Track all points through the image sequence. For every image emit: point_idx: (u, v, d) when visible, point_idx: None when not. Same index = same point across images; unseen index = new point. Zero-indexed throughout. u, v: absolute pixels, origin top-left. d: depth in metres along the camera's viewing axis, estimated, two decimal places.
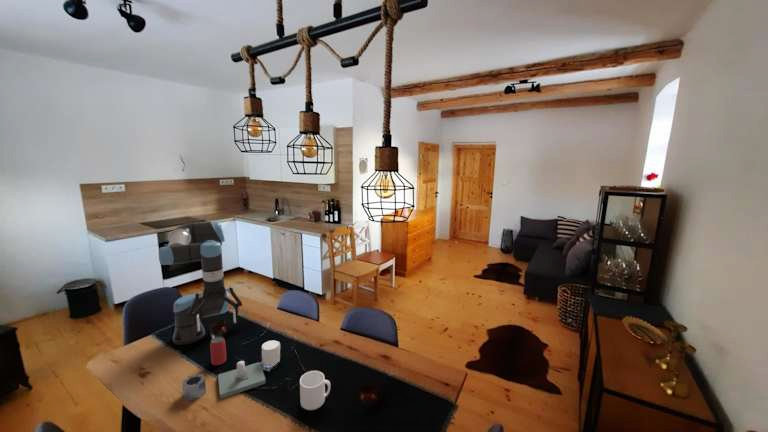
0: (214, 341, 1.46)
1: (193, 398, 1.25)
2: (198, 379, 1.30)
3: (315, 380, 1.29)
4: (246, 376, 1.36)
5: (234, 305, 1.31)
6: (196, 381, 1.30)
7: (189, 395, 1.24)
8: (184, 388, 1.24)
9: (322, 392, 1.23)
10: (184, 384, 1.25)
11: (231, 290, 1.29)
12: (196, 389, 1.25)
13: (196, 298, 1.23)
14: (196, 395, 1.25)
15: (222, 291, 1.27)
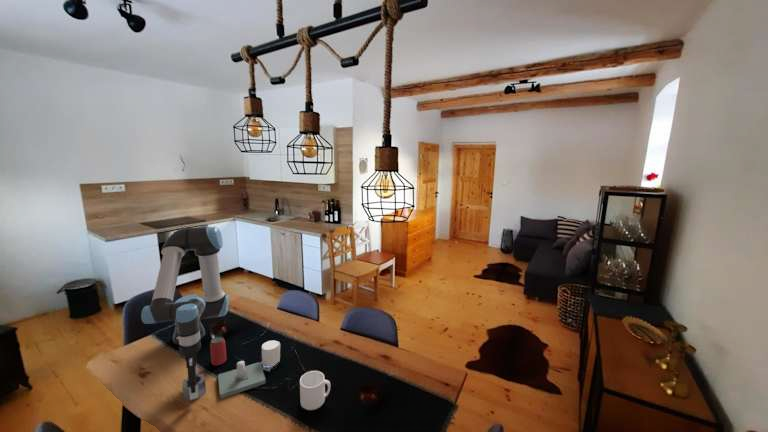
0: (214, 341, 1.46)
1: None
2: (198, 379, 1.30)
3: (315, 380, 1.29)
4: (246, 376, 1.36)
5: None
6: (196, 381, 1.30)
7: (189, 395, 1.24)
8: (184, 388, 1.24)
9: (322, 392, 1.23)
10: (184, 384, 1.25)
11: (187, 364, 1.19)
12: None
13: None
14: None
15: (187, 359, 1.22)
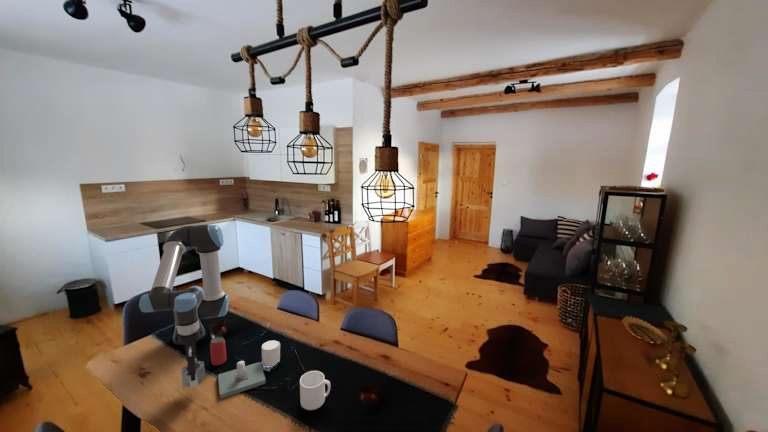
0: (214, 341, 1.46)
1: None
2: (197, 366, 1.30)
3: (315, 380, 1.29)
4: (246, 376, 1.36)
5: None
6: None
7: (188, 382, 1.23)
8: (183, 375, 1.23)
9: (322, 392, 1.23)
10: (183, 371, 1.24)
11: (186, 355, 1.19)
12: None
13: None
14: None
15: (186, 348, 1.22)
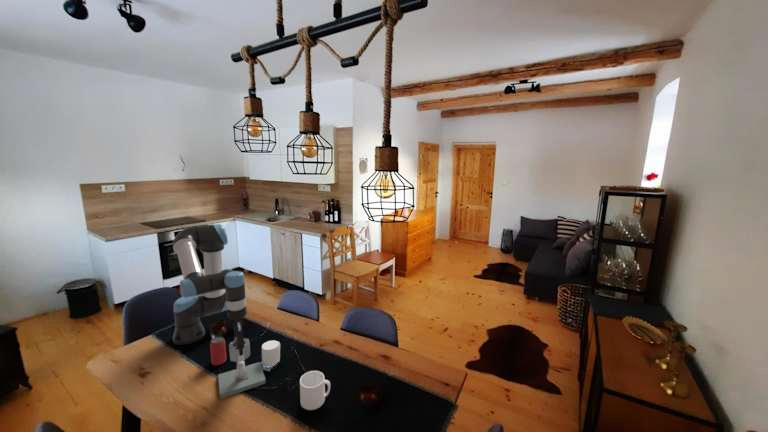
0: (214, 341, 1.46)
1: None
2: None
3: (315, 380, 1.29)
4: (246, 376, 1.36)
5: (237, 344, 1.28)
6: None
7: (236, 357, 1.29)
8: (231, 349, 1.29)
9: (322, 392, 1.23)
10: (231, 346, 1.30)
11: (236, 329, 1.25)
12: None
13: None
14: None
15: (235, 323, 1.28)
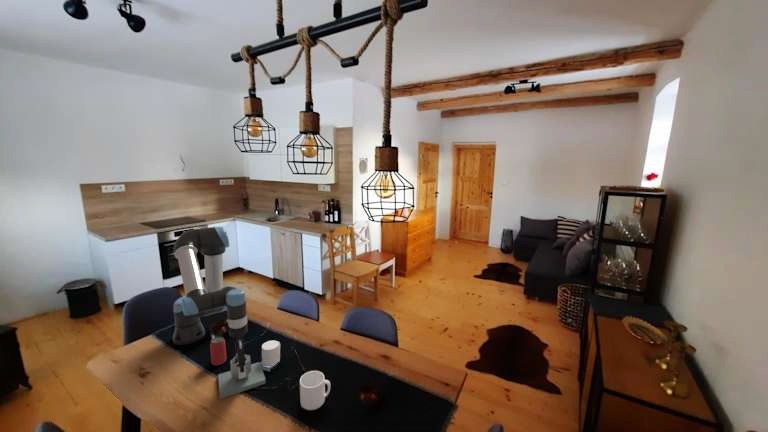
0: (214, 341, 1.46)
1: None
2: None
3: (315, 380, 1.29)
4: (246, 376, 1.36)
5: (238, 361, 1.29)
6: None
7: (237, 373, 1.31)
8: (232, 366, 1.31)
9: (322, 392, 1.23)
10: (232, 363, 1.32)
11: (237, 347, 1.27)
12: None
13: None
14: None
15: (236, 340, 1.29)
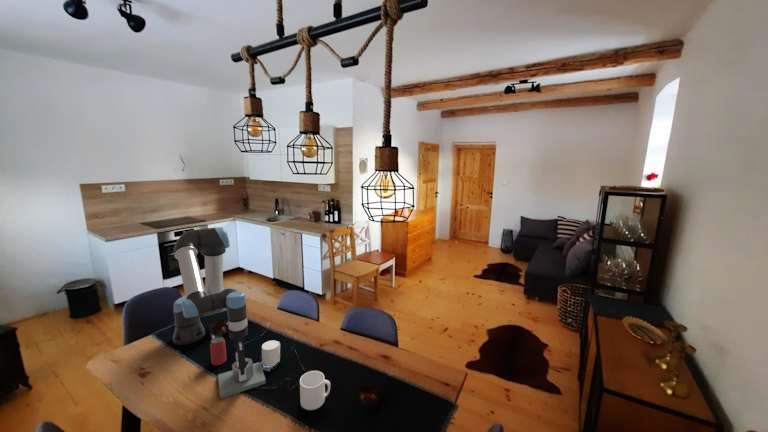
0: (214, 341, 1.46)
1: (243, 380, 1.32)
2: None
3: (315, 380, 1.29)
4: None
5: None
6: None
7: None
8: (234, 370, 1.31)
9: (322, 392, 1.23)
10: (234, 367, 1.33)
11: (237, 348, 1.27)
12: None
13: None
14: None
15: (236, 343, 1.29)
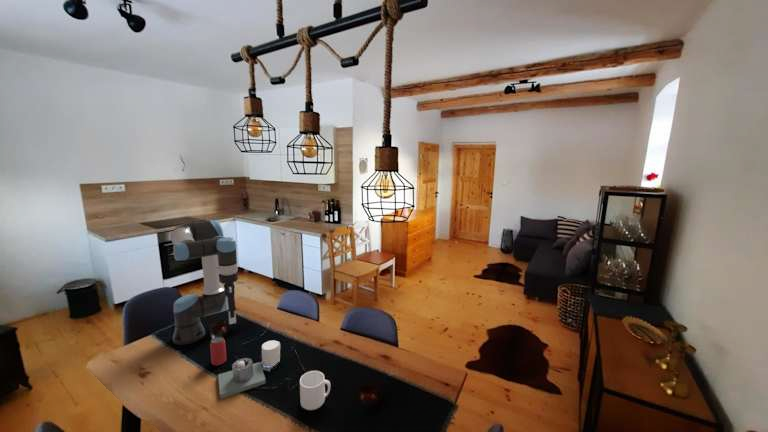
0: (214, 341, 1.46)
1: (243, 380, 1.32)
2: (245, 363, 1.38)
3: (315, 380, 1.29)
4: None
5: (228, 307, 1.30)
6: None
7: (239, 377, 1.31)
8: (234, 370, 1.31)
9: (322, 392, 1.23)
10: (234, 367, 1.33)
11: (227, 291, 1.29)
12: (245, 371, 1.32)
13: None
14: (245, 377, 1.33)
15: (226, 287, 1.32)
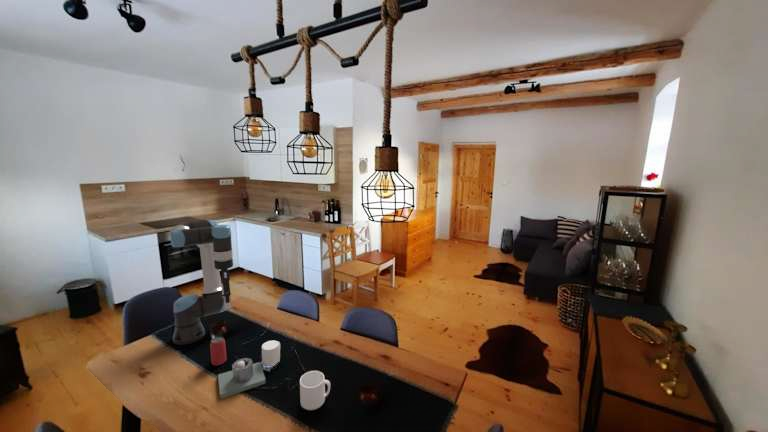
0: (214, 341, 1.46)
1: (243, 380, 1.32)
2: (245, 363, 1.38)
3: (315, 380, 1.29)
4: None
5: None
6: None
7: (239, 377, 1.31)
8: (234, 370, 1.31)
9: (322, 392, 1.23)
10: (234, 367, 1.33)
11: (222, 276, 1.32)
12: (245, 371, 1.32)
13: None
14: (245, 377, 1.33)
15: (222, 273, 1.35)
